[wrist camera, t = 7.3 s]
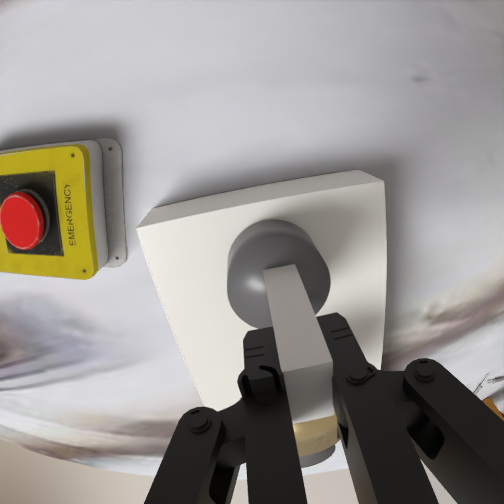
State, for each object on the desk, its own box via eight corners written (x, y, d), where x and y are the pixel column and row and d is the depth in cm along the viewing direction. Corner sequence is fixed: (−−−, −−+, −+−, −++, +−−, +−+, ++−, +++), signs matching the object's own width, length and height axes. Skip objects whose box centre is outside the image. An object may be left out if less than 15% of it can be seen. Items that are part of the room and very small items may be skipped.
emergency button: (111, 294, 19) (-40, 277, 17) (130, 264, 23) (-13, 255, 21) (99, 141, 15) (-60, 164, 14) (124, 136, 19) (-27, 154, 18)
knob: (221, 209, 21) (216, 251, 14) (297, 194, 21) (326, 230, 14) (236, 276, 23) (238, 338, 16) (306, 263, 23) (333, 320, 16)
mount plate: (152, 208, 20) (135, 228, 17) (358, 169, 20) (384, 181, 17) (228, 424, 30) (228, 455, 26) (361, 398, 29) (372, 426, 26)
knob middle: (246, 336, 21) (252, 419, 15) (319, 322, 21) (349, 399, 14) (259, 385, 23) (267, 462, 17) (323, 372, 23) (346, 445, 16)
